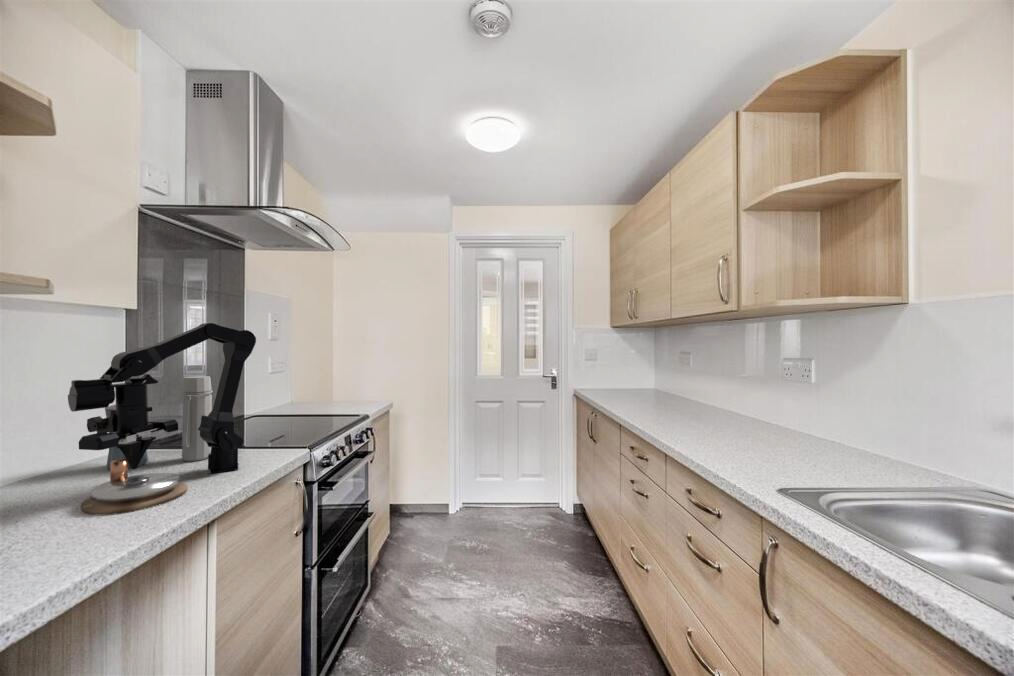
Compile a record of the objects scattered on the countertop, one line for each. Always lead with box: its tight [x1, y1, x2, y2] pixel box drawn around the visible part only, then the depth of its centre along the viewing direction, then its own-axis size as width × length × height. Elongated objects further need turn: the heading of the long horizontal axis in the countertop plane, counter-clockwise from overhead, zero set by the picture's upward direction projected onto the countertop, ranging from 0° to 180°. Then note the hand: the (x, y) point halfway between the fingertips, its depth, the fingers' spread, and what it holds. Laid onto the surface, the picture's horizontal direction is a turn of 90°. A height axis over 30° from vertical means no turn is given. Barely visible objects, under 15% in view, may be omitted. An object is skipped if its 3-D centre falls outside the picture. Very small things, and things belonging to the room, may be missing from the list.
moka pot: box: [104, 404, 149, 470], centre depth 121 cm, size 10×15×20 cm, turn 27°
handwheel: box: [90, 459, 180, 502], centre depth 95 cm, size 16×15×7 cm
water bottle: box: [180, 375, 214, 462], centre depth 127 cm, size 9×8×25 cm
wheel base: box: [80, 481, 188, 515], centre depth 95 cm, size 18×18×1 cm
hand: (133, 468), depth 100 cm, fingers closed
